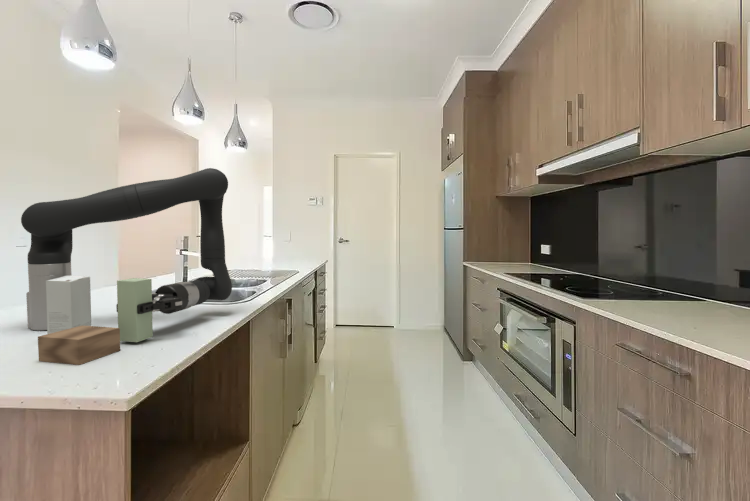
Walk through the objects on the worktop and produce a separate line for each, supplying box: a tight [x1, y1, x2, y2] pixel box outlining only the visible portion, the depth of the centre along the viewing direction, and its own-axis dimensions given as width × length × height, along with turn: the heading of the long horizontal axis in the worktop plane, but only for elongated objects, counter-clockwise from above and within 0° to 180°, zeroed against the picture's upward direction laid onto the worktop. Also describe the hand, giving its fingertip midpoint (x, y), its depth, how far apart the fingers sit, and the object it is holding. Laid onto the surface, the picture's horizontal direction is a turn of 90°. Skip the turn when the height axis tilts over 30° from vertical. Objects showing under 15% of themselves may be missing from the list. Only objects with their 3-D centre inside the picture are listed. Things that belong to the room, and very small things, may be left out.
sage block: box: [116, 277, 154, 343], centre depth 101 cm, size 5×5×14 cm
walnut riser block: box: [37, 325, 121, 366], centre depth 90 cm, size 10×10×5 cm
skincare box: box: [46, 275, 92, 334], centre depth 104 cm, size 8×6×15 cm
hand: (128, 308), depth 99 cm, fingers closed on sage block, 5 cm apart
